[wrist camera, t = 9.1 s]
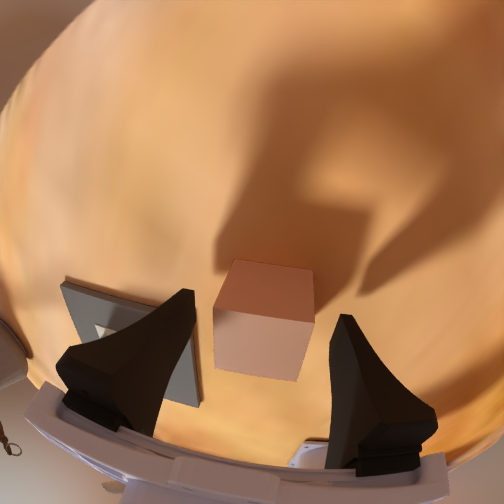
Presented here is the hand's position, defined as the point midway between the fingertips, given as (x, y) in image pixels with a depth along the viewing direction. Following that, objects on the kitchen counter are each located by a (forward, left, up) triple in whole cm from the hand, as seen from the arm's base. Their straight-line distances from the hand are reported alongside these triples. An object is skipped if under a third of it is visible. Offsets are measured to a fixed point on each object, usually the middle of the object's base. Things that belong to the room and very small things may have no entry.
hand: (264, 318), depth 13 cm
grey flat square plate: (-8, +10, -2) cm, 13 cm away
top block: (0, 0, -2) cm, 2 cm away
